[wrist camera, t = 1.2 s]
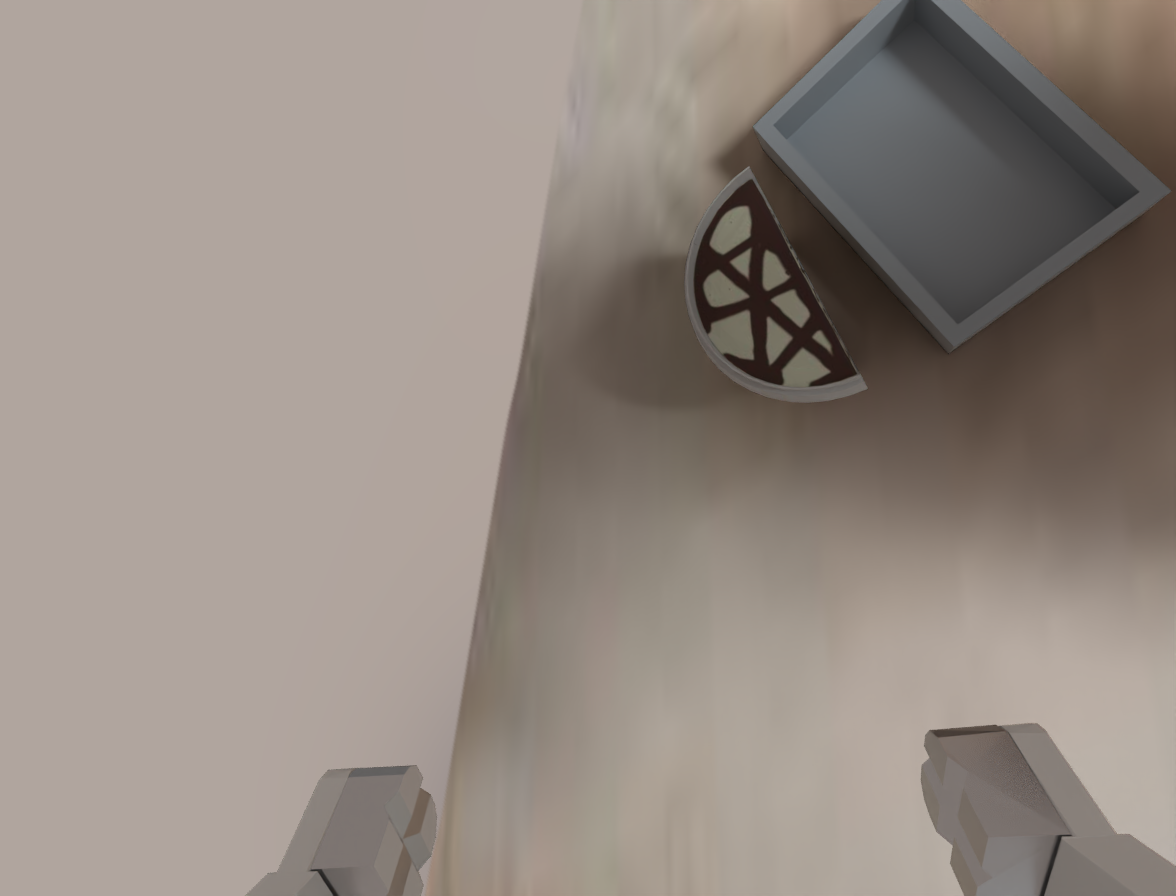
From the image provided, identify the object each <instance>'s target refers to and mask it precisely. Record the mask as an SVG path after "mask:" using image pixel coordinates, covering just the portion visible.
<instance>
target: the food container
mask: <svg viewBox="0 0 1176 896" xmlns="http://www.w3.org/2000/svg"><path fill="white" fill-rule="evenodd" d="M684 287H685V301H686V305H687V310H688V314H689V318H690V321H691V324H692V326H693V329H694V331H695V334H696V336H697V339H698V341H699V342H700V344H701V346H702V347H703V349H704V351H705V352H706V354H707V356H708V357H709V358H710V359H711V360H712V361H713V363H714V364H715V365H716V366H717V367H718V368H719V369H720V370H721V371H722V372H723V373H724V374H726V375H727V376H728V377H729V378H730V379H732V380H733V381H734V382H736V383H738V384H739V385H741V386H743V387H744V388H746V389H748V390H750V391H752V392H755V393H757V394H760V395H762V396H765V397H768V398H773V399H777V400H782V401H786V402H802V403H811V402H822V401H830V400H834V399H839V398H843V397H847V396H850V395H853V394H856V393H858V392H861V391H863V390H866V389H868V387H867V386H866V384H865V382H864V380H863V378H862V376H861V374H860V373H859V371H858V369H857V367H856V365H855V363H854V361H853V359H852V358H851V356H850V354H849V352H848V350H847V348H846V346H845V345H844V343H843V341H842V339H841V337H840V335H839V333H838V331H837V330H836V328H835V326H834V324H833V322H832V320H831V318H830V317H829V315H828V313H827V311H826V309H825V307H824V305H823V303H822V302H821V300H820V298H819V296H818V294H817V292H816V290H815V288H814V287H813V285H812V283H811V281H810V279H809V277H808V275H807V274H806V272H805V270H804V268H803V266H802V264H801V262H800V260H799V259H798V257H797V255H796V253H795V251H794V249H793V247H792V246H791V244H790V242H789V240H788V238H787V236H786V234H785V232H784V231H783V229H782V227H781V225H780V223H779V221H778V219H777V217H776V216H775V214H774V212H773V210H772V208H771V206H770V204H769V203H768V201H767V199H766V197H765V195H764V193H763V191H762V189H761V188H760V186H759V184H758V182H757V180H756V178H755V176H754V174H753V173H752V171H751V169H750V167H749V166H748V167H747V168H746V169H744V170H743V171H742V172H741V173H739V174H738V175H737V176H736V177H734V178H733V179H732V180H731V181H730V182H729V183H728V184H727V185H726V186H725V187H724V188H723V189H722V190H721V191H720V193H719V194H718V195H717V197H716V198H715V199H714V201H713V202H712V203H711V205H710V206H709V207H708V209H707V210H706V212H705V214H704V216H703V217H702V219H701V221H700V223H699V224H698V226H697V229H696V231H695V234H694V236H693V239H692V241H691V244H690V248H689V252H688V256H687V260H686V267H685V277H684Z"/></svg>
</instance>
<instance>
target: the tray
mask: <svg viewBox="0 0 1176 896" xmlns="http://www.w3.org/2000/svg"><path fill="white" fill-rule="evenodd" d="M753 128H754V131H755V133H756V135H757V137H758V140H759V142H760V144H761V146H762V149H763V151H764V152H765V153H766V154H767V155H768V156H769V157H770V158H771V159H772V161H773V162H774V163H775V164H776V165H777V166H778V167H779V168H780V169H781V170H782V172H783V173H784V174H785V175H786V176H787V177H788V178H789V179H790V180H791V181H792V183H793V184H794V185H795V186H796V187H797V188H798V189H799V190H800V191H801V192H802V194H803V195H804V196H805V197H806V198H807V199H808V200H809V201H810V202H811V203H812V205H813V206H814V207H815V208H816V209H817V210H818V211H819V212H820V213H821V214H822V216H823V217H824V218H825V219H826V220H827V221H828V222H829V223H830V224H831V225H832V227H833V228H834V229H835V230H836V231H837V232H838V233H839V234H840V235H841V236H842V238H843V239H844V240H845V241H846V242H847V243H848V244H849V245H850V246H851V248H852V249H853V250H854V251H855V252H856V253H857V254H858V255H859V256H860V257H861V259H862V260H863V261H864V262H865V263H866V264H867V265H868V266H869V267H870V268H871V270H872V271H873V272H874V273H875V274H876V275H877V276H878V277H879V278H880V279H881V281H882V282H883V283H884V284H885V285H886V286H887V287H888V288H889V289H890V290H891V292H892V293H893V294H894V295H895V296H896V297H897V298H898V299H899V300H900V301H901V303H902V304H903V305H904V306H905V307H906V308H907V309H908V310H909V311H910V312H911V314H912V315H913V316H914V317H915V318H916V319H917V320H918V321H919V322H920V323H921V325H922V326H923V327H924V328H925V329H926V330H927V331H928V332H929V333H930V334H931V336H932V337H933V338H934V339H935V340H936V341H937V342H938V343H939V344H940V345H941V347H942V348H943V349H944V350H945V351H946V352H947V353H948V354H949V353H950V352H952V351H953V350H955V349H956V348H957V347H959V346H960V345H962V344H963V343H964V342H966V341H967V340H969V339H970V338H971V337H973V336H974V335H976V334H977V333H978V332H980V331H981V330H983V329H984V328H985V327H987V326H988V325H989V324H991V323H992V322H994V321H995V320H996V319H998V318H999V317H1001V316H1002V315H1003V314H1005V313H1006V312H1008V311H1009V310H1010V309H1012V308H1013V307H1015V306H1016V305H1017V304H1019V303H1020V302H1022V301H1023V300H1024V299H1026V298H1027V297H1028V296H1030V295H1031V294H1033V293H1034V292H1035V291H1037V290H1038V289H1040V288H1041V287H1042V286H1044V285H1045V284H1047V283H1048V282H1049V281H1051V280H1052V279H1054V278H1055V277H1056V276H1058V275H1059V274H1061V273H1062V272H1063V271H1065V270H1066V269H1068V268H1069V267H1070V266H1072V265H1073V264H1074V263H1076V262H1077V261H1079V260H1080V259H1081V258H1083V257H1084V256H1086V255H1087V254H1088V253H1090V252H1091V251H1093V250H1094V249H1095V248H1097V247H1098V246H1100V245H1101V244H1102V243H1104V242H1105V241H1107V240H1108V239H1109V238H1111V237H1112V236H1113V235H1115V234H1116V233H1118V232H1119V231H1120V230H1122V229H1123V228H1125V227H1126V226H1127V225H1129V224H1130V223H1132V222H1133V221H1134V220H1136V219H1137V218H1139V217H1140V216H1141V215H1143V214H1144V213H1145V212H1146V211H1148V210H1149V209H1150V208H1151V207H1153V206H1154V205H1155V204H1156V203H1158V202H1159V201H1160V200H1161V199H1162V198H1164V197H1165V196H1166V195H1167V194H1169V193H1170V192H1171V190H1170V189H1169V188H1168V187H1167V186H1166V185H1165V184H1163V183H1162V182H1161V181H1160V180H1159V179H1158V178H1157V177H1156V176H1155V175H1153V174H1152V173H1151V172H1150V171H1149V170H1148V169H1147V168H1146V167H1145V166H1144V165H1142V164H1141V163H1140V162H1139V161H1138V160H1137V159H1136V158H1135V157H1134V156H1132V155H1131V154H1130V153H1129V152H1128V151H1127V150H1126V149H1125V148H1124V147H1123V146H1121V145H1120V144H1119V143H1118V142H1117V141H1116V140H1115V139H1114V138H1113V137H1111V136H1110V135H1109V134H1108V133H1107V132H1106V131H1105V130H1104V129H1103V128H1102V127H1100V126H1099V125H1098V124H1097V123H1096V122H1095V121H1094V120H1093V119H1092V118H1090V117H1089V116H1088V115H1087V114H1086V113H1085V112H1084V111H1083V110H1082V109H1081V108H1079V107H1078V106H1077V105H1076V104H1075V103H1074V102H1073V101H1072V100H1071V99H1069V98H1068V97H1067V96H1066V95H1065V94H1064V93H1063V92H1062V91H1061V90H1060V89H1058V88H1057V87H1056V86H1055V85H1054V84H1053V83H1052V82H1051V81H1050V80H1048V79H1047V78H1046V77H1045V76H1044V75H1043V74H1042V73H1041V72H1040V71H1039V70H1037V69H1036V68H1035V67H1034V66H1033V65H1032V64H1031V63H1030V62H1029V61H1027V60H1026V59H1025V58H1024V57H1023V56H1022V55H1021V54H1020V53H1019V52H1018V51H1016V50H1015V49H1014V48H1013V47H1012V46H1011V45H1010V44H1009V43H1008V42H1006V41H1005V40H1004V39H1003V38H1002V37H1001V36H1000V35H999V34H998V33H997V32H995V31H994V30H993V29H992V28H991V27H990V26H989V25H988V24H987V23H985V22H984V21H983V20H982V19H981V18H980V17H979V16H978V15H977V14H976V13H974V12H973V11H972V10H971V9H970V8H969V7H968V6H967V5H966V4H964V3H963V2H962V1H961V0H882V1H881V2H880V3H879V4H878V5H876V6H875V7H874V8H873V9H872V10H871V11H870V12H869V13H868V14H867V15H866V16H865V17H864V18H863V19H862V20H861V21H860V22H859V23H858V24H857V25H856V26H855V27H854V28H853V29H852V30H851V31H850V32H849V33H848V34H847V35H846V36H845V37H844V38H843V39H842V40H841V41H840V42H839V43H838V44H837V45H836V46H835V47H834V48H833V49H832V50H830V51H829V52H828V53H827V54H826V55H825V56H824V57H823V58H822V59H821V60H820V61H819V62H818V63H817V64H816V65H815V66H814V67H813V68H812V69H811V70H810V71H809V72H808V73H807V74H806V75H805V76H804V77H803V78H802V79H801V80H800V81H799V82H798V83H797V84H796V85H795V86H794V87H793V88H792V89H791V90H790V91H789V92H788V93H787V94H786V95H784V96H783V97H782V98H781V99H780V100H779V101H778V102H777V103H776V104H775V105H774V106H773V107H772V108H771V109H770V110H769V111H768V112H767V113H766V114H765V115H764V116H763V117H762V118H761V119H760V120H759V121H758V122H757V123H756V124H755V125H754V126H753Z"/></svg>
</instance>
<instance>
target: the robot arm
mask: <svg viewBox="0 0 1176 896" xmlns="http://www.w3.org/2000/svg"><path fill="white" fill-rule="evenodd" d="M924 747H925V749H926V751H927V753H928V755H929V759H928V760H927V761H926V762H924V763H923V764H922V769H921V784H922V790H923V796H924V800H925V803H926V806H927V809H928V812H929V815H930V818H931V820H932V822H933V825H934V827H935V829H936V832H937V833H939V834H940V835H941V836H942V837H943V838H945V839H946V840H947V841H948V842H949V843H950V844H952V845H953V848H952V855H951V861H950V864H951V866H952V869H953V871H954V873H955V876H956V878H957V880H958V882H959V885H960V887H961V889H962V891H963V894H964V896H1176V866H1175V865H1174V864H1172V863H1171V862H1169V861H1168V860H1166V859H1165V858H1163V857H1162V856H1161V855H1159V854H1158V853H1156V852H1155V851H1153V850H1152V849H1150V848H1149V847H1147V846H1146V845H1145V844H1143V843H1142V842H1140V841H1139V840H1137V839H1136V838H1134V837H1133V836H1131V835H1130V834H1117V833H1116V832H1115V830H1114V829H1113V827H1112V826H1111V824H1110V823H1109V821H1108V820H1107V818H1106V817H1105V816H1104V814H1103V813H1102V811H1101V810H1100V808H1099V807H1098V805H1097V804H1096V803H1095V801H1094V800H1093V798H1092V797H1091V795H1090V794H1089V792H1088V791H1087V789H1086V788H1085V787H1084V785H1083V784H1082V782H1081V781H1080V779H1079V778H1078V776H1077V775H1076V774H1075V772H1074V771H1073V769H1072V768H1071V766H1070V765H1069V763H1068V762H1067V760H1066V759H1065V758H1064V756H1063V755H1062V753H1061V752H1060V750H1059V749H1058V747H1057V746H1056V745H1055V743H1054V742H1053V740H1052V739H1051V737H1050V736H1049V734H1048V733H1047V731H1046V730H1045V729H1044V728H1042V727H1041V726H1040V725H1038V724H1036V723H1025V724H1014V725H1003V726H997V725H986V726H974V727H962V728H950V729H938V730H929V731H928V732H927V734H926V735H925V742H924ZM422 780H423V777H422V775H421V773H420V771H419V769H418V767H417V766H416V765H414V766H395V767H394V766H393V767H374V768H351V769H350V768H349V769H336V770H328V771H327V772H326V773H325V774H324V775H323V776H322V777H321V779H320V780H319V782H318V784H317V786H316V788H315V790H314V792H313V795H312V797H311V799H310V801H309V804H308V806H307V808H306V810H305V812H304V814H303V817H302V819H301V821H300V823H299V825H298V827H297V830H296V832H295V834H294V836H293V838H292V840H291V843H290V845H289V847H288V849H287V851H286V854H285V856H284V858H283V860H282V862H281V864H280V867H279V869H278V871H277V872H275V873H268V874H267V875H266V876H265V877H264V878H263V879H262V880H261V881H260V882H259V883H258V884H257V885H256V886H255V887H254V888H253V889H252V890H251V891H249V893H247V894H246V895H245V896H421V893H422V889H423V883H422V880H421V877H420V874H419V872H418V871H419V869H420V868H421V867H422V866H423V865H424V863H425V862H426V861H427V860H428V859H429V858H430V857H431V855H432V850H433V846H434V842H435V838H436V825H437V814H436V808H435V803H434V801H433V799H432V796H431V794H429V793H428V792H426V791H424V790H423V789H421V788H420V786H421V783H422Z"/></svg>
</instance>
